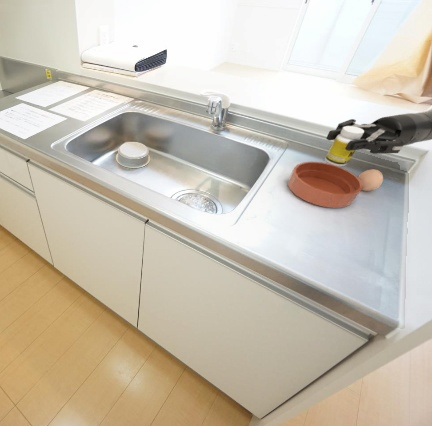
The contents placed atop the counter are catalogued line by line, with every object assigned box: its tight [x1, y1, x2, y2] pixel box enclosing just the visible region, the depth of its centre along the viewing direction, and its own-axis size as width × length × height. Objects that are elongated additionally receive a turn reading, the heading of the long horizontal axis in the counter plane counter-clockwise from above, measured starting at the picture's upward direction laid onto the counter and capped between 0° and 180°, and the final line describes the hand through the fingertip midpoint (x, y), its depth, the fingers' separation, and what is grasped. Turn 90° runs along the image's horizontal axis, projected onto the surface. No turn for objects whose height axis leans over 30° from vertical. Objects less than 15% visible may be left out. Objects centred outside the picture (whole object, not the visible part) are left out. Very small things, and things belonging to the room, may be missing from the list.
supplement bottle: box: [324, 126, 364, 167], centre depth 66 cm, size 5×5×8 cm
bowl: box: [287, 161, 363, 209], centre depth 74 cm, size 15×15×4 cm
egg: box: [357, 168, 384, 192], centre depth 73 cm, size 5×5×6 cm
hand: (338, 140), depth 65 cm, fingers closed on supplement bottle, 4 cm apart
